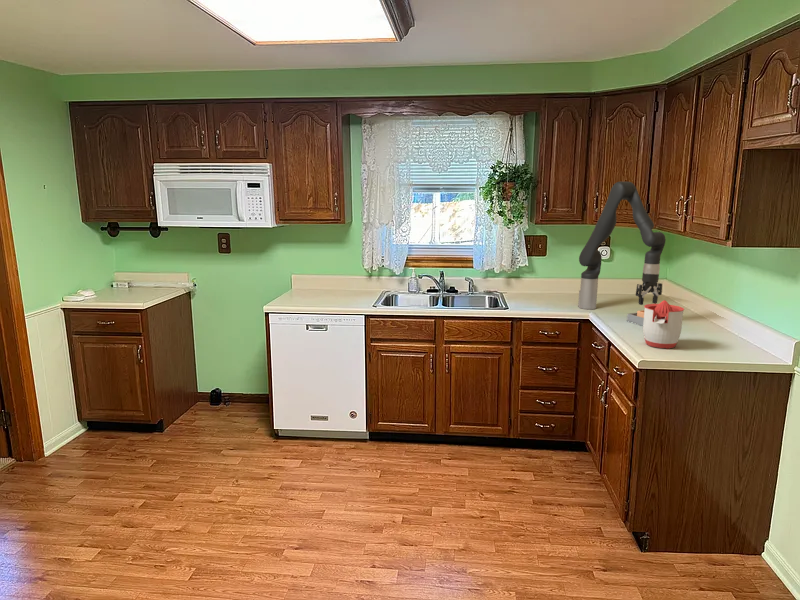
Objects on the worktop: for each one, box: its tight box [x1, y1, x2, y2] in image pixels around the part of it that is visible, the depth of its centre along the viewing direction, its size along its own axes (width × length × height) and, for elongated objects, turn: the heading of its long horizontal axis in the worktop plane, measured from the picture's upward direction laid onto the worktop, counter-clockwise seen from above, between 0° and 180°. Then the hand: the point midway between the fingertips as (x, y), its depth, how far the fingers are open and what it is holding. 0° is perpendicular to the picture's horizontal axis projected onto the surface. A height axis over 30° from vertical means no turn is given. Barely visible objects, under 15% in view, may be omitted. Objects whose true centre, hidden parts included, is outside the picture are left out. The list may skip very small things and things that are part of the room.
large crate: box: [626, 312, 644, 327], centre depth 284 cm, size 12×14×4 cm
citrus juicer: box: [642, 299, 685, 350], centre depth 241 cm, size 16×17×20 cm
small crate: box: [636, 309, 645, 318], centre depth 284 cm, size 8×6×5 cm
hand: (647, 304), depth 283 cm, fingers open, 8 cm apart
